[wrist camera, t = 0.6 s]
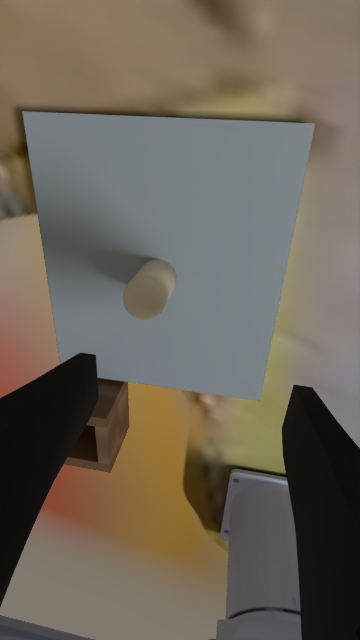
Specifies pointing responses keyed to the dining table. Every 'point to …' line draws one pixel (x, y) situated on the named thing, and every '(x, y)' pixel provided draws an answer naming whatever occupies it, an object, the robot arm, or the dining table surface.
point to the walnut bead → (103, 428)
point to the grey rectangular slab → (167, 242)
